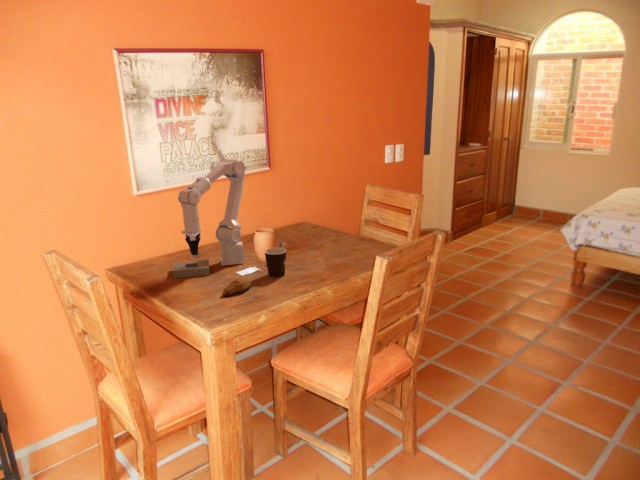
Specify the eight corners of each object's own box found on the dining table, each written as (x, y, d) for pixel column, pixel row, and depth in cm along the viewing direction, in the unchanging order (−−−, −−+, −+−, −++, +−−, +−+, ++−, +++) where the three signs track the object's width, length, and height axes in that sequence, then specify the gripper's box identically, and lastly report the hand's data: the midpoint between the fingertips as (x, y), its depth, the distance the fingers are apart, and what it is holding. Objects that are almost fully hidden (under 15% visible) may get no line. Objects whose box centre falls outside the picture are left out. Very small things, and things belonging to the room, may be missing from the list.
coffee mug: (278, 280, 186) (277, 255, 183) (261, 276, 190) (259, 252, 188) (296, 271, 195) (295, 247, 193) (279, 267, 200) (277, 244, 197)
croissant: (229, 300, 169) (228, 286, 168) (217, 295, 173) (216, 282, 172) (258, 288, 179) (257, 275, 178) (246, 284, 183) (245, 272, 182)
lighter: (272, 264, 204) (271, 246, 202) (270, 263, 206) (269, 245, 203) (286, 260, 209) (285, 242, 207) (283, 259, 210) (282, 241, 208)
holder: (209, 266, 203) (208, 259, 202) (209, 274, 193) (209, 267, 192) (174, 269, 200) (173, 262, 199) (173, 278, 190) (172, 271, 189)
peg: (199, 255, 192) (197, 241, 191) (199, 258, 189) (197, 243, 188) (190, 256, 192) (189, 241, 190) (190, 258, 189) (189, 244, 187)
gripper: (181, 216, 192) (184, 248, 196) (180, 225, 179) (183, 259, 182) (199, 215, 194) (202, 247, 198) (199, 223, 180) (202, 258, 184)
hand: (194, 253), depth 190 cm, fingers closed on peg, 3 cm apart
